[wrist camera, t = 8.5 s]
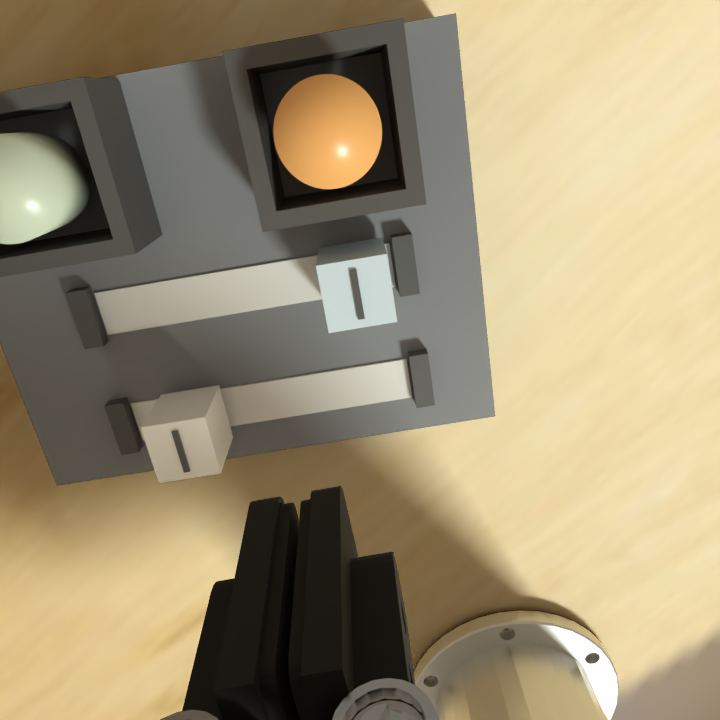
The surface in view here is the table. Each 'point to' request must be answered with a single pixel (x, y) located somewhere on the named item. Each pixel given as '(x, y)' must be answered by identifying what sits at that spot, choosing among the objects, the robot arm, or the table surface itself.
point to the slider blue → (356, 285)
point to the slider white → (188, 434)
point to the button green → (39, 185)
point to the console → (247, 255)
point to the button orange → (327, 131)
